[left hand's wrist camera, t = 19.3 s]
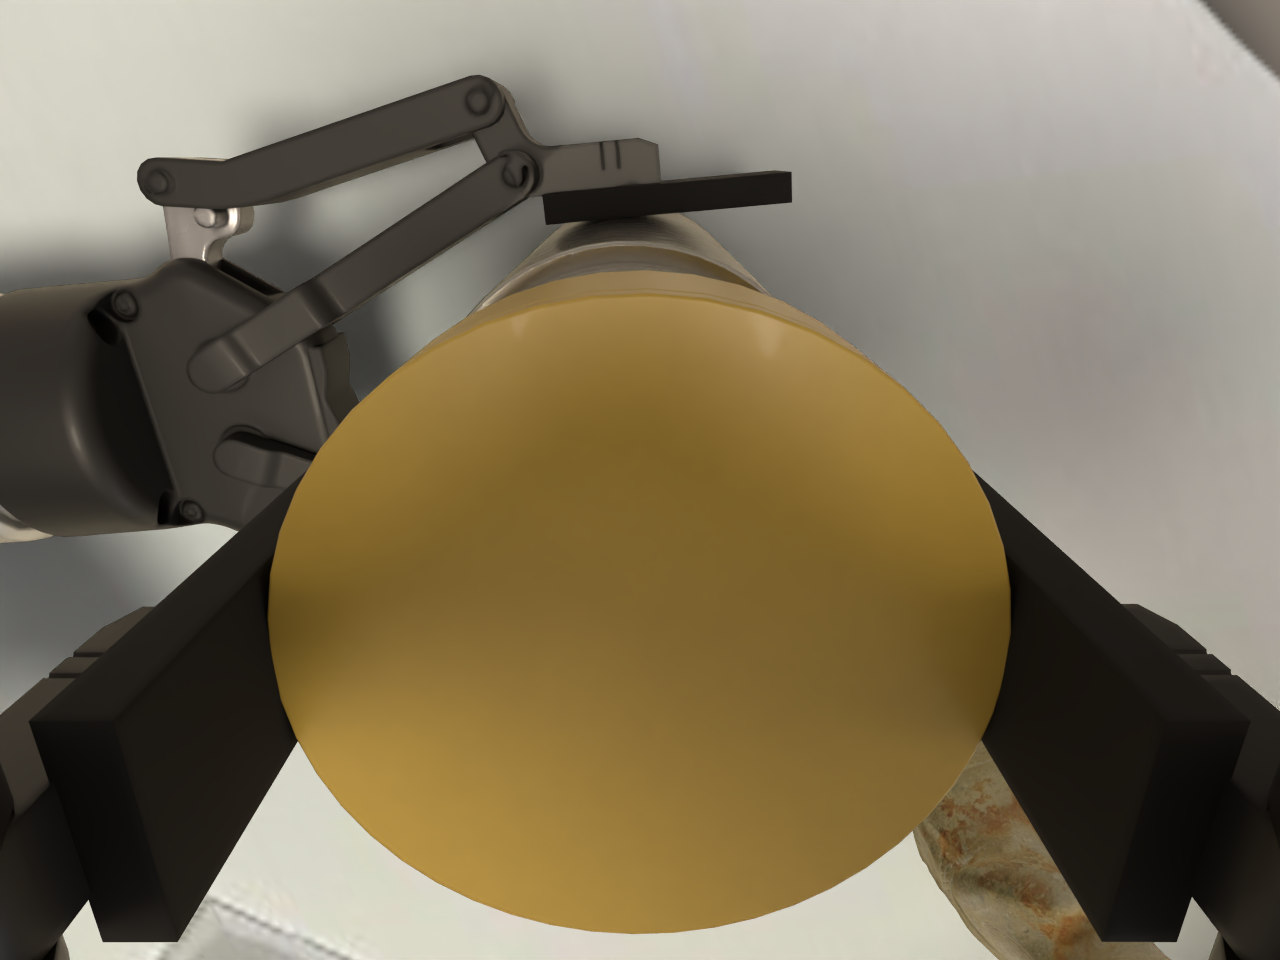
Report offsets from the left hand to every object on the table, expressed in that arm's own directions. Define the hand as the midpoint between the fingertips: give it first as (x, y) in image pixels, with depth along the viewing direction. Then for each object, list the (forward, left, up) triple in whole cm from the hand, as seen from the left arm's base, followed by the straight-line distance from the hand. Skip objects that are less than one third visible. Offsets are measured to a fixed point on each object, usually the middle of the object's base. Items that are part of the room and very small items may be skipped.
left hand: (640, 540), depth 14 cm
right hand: (-3, -3, -11) cm, 12 cm away
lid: (0, 0, +3) cm, 3 cm away
